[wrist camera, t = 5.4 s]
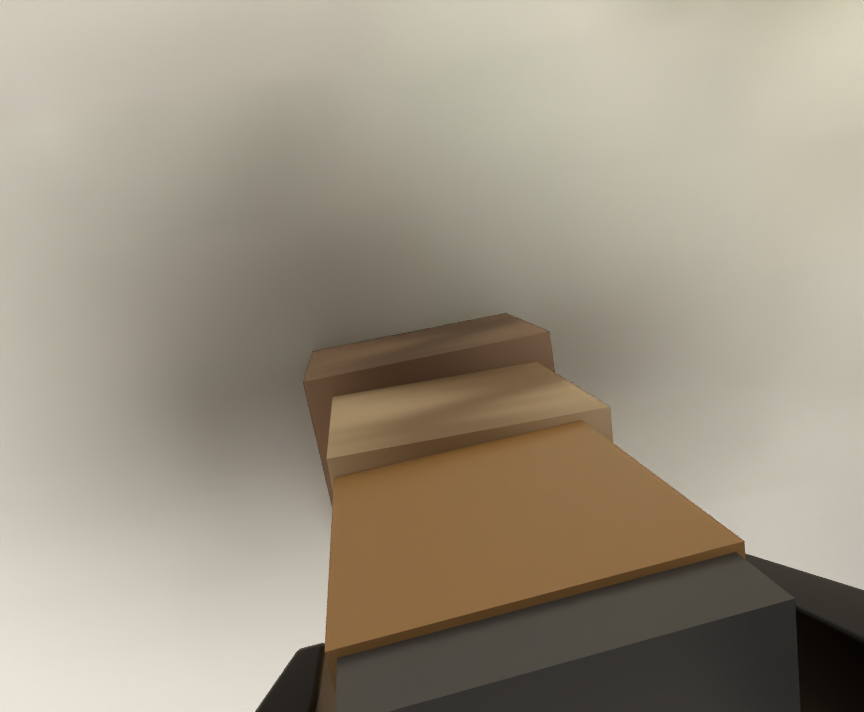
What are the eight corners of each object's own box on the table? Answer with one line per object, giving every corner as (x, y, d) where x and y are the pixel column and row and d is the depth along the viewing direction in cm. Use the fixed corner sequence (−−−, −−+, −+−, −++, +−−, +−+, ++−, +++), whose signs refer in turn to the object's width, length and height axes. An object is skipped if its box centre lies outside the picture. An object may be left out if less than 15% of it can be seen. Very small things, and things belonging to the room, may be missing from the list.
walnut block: (504, 312, 18) (549, 331, 14) (531, 488, 19) (578, 550, 15) (312, 350, 17) (302, 381, 13) (353, 529, 18) (355, 606, 14)
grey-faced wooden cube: (581, 420, 10) (805, 586, 5) (610, 634, 11) (820, 944, 6) (334, 476, 10) (321, 719, 5) (386, 695, 10) (420, 1085, 6)
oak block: (536, 361, 14) (609, 406, 10) (555, 545, 15) (628, 650, 11) (332, 396, 13) (326, 459, 9) (366, 585, 14) (373, 710, 10)
